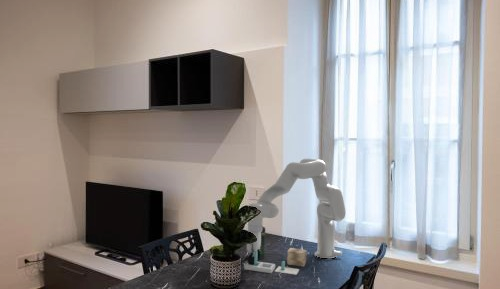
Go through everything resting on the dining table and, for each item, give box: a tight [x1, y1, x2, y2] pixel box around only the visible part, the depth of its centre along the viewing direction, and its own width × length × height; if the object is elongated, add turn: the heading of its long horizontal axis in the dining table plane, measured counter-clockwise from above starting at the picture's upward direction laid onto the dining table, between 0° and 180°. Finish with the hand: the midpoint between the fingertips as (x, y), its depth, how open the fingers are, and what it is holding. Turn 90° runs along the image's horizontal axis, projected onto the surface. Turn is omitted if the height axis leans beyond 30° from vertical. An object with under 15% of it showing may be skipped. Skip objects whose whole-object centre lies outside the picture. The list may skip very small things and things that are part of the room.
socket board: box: [243, 261, 276, 274], centre depth 178 cm, size 14×8×2 cm, turn 72°
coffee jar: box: [257, 225, 266, 261], centre depth 196 cm, size 10×8×19 cm
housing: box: [286, 247, 307, 267], centre depth 187 cm, size 9×6×8 cm
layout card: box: [274, 260, 300, 276], centre depth 176 cm, size 11×8×5 cm
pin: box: [252, 251, 258, 266], centre depth 179 cm, size 3×3×9 cm
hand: (254, 261), depth 179 cm, fingers open, 9 cm apart
